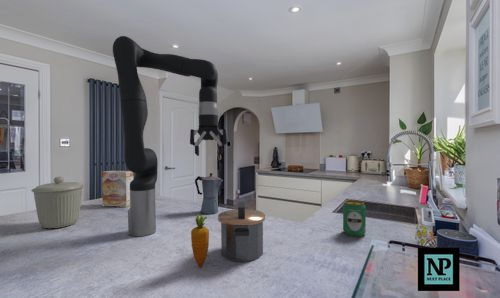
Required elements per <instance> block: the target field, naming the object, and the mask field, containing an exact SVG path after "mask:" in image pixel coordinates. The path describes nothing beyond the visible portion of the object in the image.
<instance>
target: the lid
mask: <svg viewBox="0 0 500 298" xmlns="http://www.w3.org/2000/svg"><path fill="white" fill-rule="evenodd" d="M245 202H246V201H245V200H244V201H241V200H240V201H238V203H237V204H238V205H237V209H228V210H225V211H222V212H220V213H219V214H218V215H217V220H218V222H219V223H220V224H221V223H223V224H226V225H231V226H249V225H255V224H259V223H261V222H264V221H265V220H266V213H264V212H263V211H260V210H255V209H252V208H251V209H250V208H249V209H248V208H246V205H245Z"/></svg>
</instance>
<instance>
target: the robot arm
mask: <svg viewBox="0 0 500 298" xmlns="http://www.w3.org/2000/svg"><path fill="white" fill-rule="evenodd" d="M112 55H113V60H114V64H115V68H116V72H117V73H116V74H117V79H118V90H119V99H120V107H121V108H120V110H121V116H122V124H123V126H122V127H123V135H124V138H123V139H124V163H125V166H126V168H127V170H128V171H131V172H133V174H134V173H135V176H134V177H133V180H132V181H131V183H130V206H129V209H128V210H127V222H128V223H127V224H128V226H127V227H128V233H127V234H128V235H129V236H134V237H143V236H144V237H146V236H149V235H152V234H155V232H156V231H157V221H156V220H157V216H156V215H157V214H156V213H157V212H156V211H157V210H156V209H157V208H156V207H157V206H156V205H157V204H156V184H157V180H158V166H159V164H158V157H157V153H156V152H155V151H154V150H153V149H151V148H148V147H145V144H144V130H145V126H146V123H147V120H148V115H149V113H148V111H149V110H148V102H147V97H146V92H145V90H144V88H143V85H142V83H141V82H142V81H141V80H140V78H139V72H138V68H145V69H146V68H148V69H154V70H159V71H162V72H167V73H171V74H176V75H179V76H183V77H196V78H198V79H200V89H199V91H198V129H190V133H189V134H190V135H189V144H190V145H192V146H193V147H194V154H195V155H196V157H199V156H200V144H201V142H203V141H214V140H215V142H216V143H217V145H218V148H217V149H218V152H217V153H218V155H217V156H219V157H221V156H222V154H223V146H225V145H227V144H228V140H227V130H226V129H225V128H223V129H219V109H218V108H219V107H218V93H217V92H218V91H217V89H218V81H219V74H218V70H217V68H216V66H215V64H214V63H213V62H211V61H210V60H206V59H200V58H189V57H186V56H181V55H179V54H172V53H157V52H152V51H150V50H147V49H144V48H142V47H141V46H140V45H139V44H138V43H137V42H136V41H134V40H133V39H132V38H130V37H128V36H127V35H120V36H118V37H117V38H116V39H115V40H114V41H113V44H112ZM197 134H198V135H199V137H198V139H197V140H196V141H195V136H196V135H197ZM219 134H221V135H222V141H221V140H220V139H219V138H218V135H219Z"/></svg>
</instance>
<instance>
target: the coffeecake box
mask: <svg viewBox="0 0 500 298" xmlns="http://www.w3.org/2000/svg"><path fill="white" fill-rule="evenodd" d="M133 179H134V172H131V171H130V170H106V171H101V183H102V184H101V185H102V187H101V188H102V191H101V192H102V195H101V196H102V206H103V205H104V206H120V207H119V208H128V207H127V206H129V207H130V183H131V181H132V180H133Z"/></svg>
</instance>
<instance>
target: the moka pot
mask: <svg viewBox="0 0 500 298" xmlns="http://www.w3.org/2000/svg"><path fill="white" fill-rule="evenodd" d="M198 180H199V181H201V187H202V192H201V191H200V187H199V182H198ZM223 181H224V180H223V179H222V178H220V177H218V176H213V173H212V172H210V173H209V175H208V176H199V175H198V176H197V177H196V178H195V179H194V183H195V187H196V191H197V194H198V195H200V196H201V195H202V202H201V209H200V213H202V214H204V215H216V214H218V213H219V205H218V202H219V201H218V193H219V188H220V186H221V184H222V182H223Z"/></svg>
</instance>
